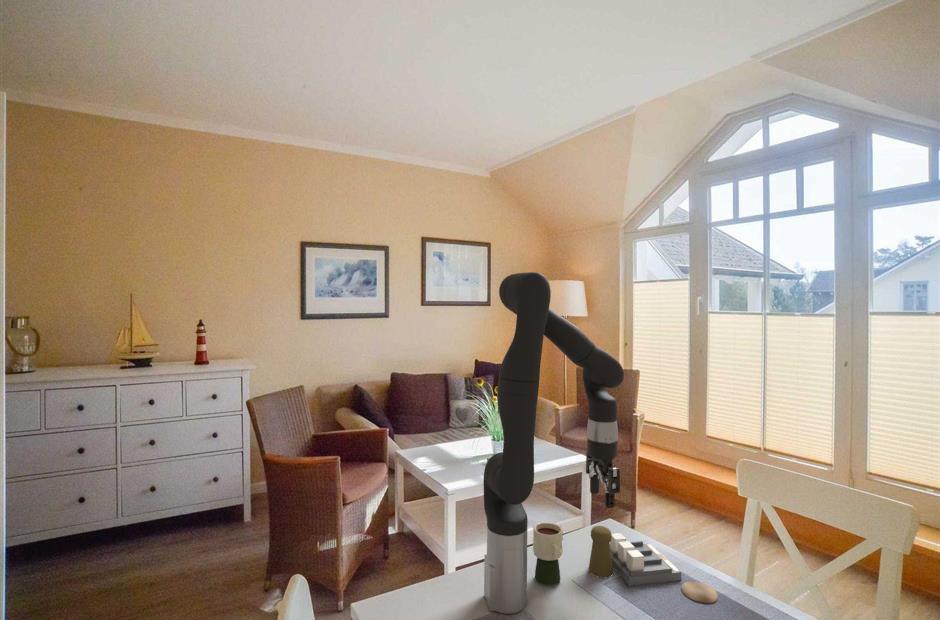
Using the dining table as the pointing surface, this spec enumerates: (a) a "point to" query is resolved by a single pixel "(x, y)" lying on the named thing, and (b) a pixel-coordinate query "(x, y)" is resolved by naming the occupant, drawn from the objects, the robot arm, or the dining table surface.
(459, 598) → the dining table surface
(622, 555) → the tab middle
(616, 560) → the switch panel
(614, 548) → the tab back
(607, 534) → the pepper shaker
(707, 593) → the cork coaster
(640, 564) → the tab front
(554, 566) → the character mug
